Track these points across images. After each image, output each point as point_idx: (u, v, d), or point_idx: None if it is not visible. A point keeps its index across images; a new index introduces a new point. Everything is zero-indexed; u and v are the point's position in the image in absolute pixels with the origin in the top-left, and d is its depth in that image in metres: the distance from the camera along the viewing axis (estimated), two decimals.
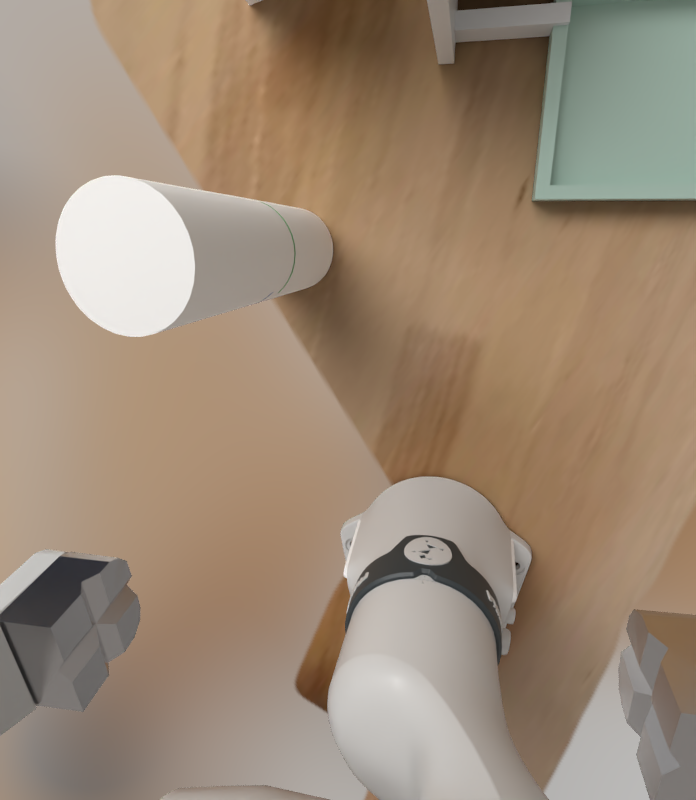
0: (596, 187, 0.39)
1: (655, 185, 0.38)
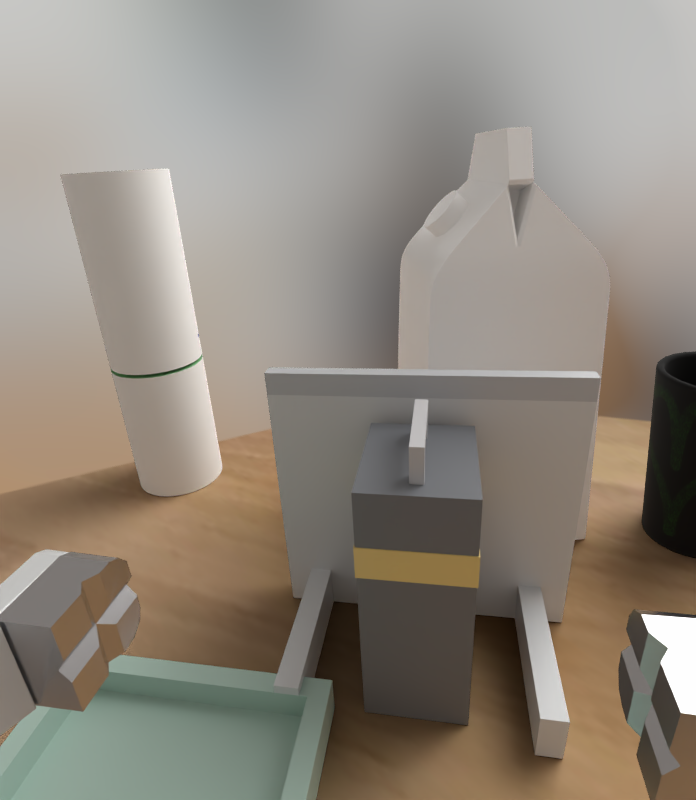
0: (29, 731, 0.24)
1: None
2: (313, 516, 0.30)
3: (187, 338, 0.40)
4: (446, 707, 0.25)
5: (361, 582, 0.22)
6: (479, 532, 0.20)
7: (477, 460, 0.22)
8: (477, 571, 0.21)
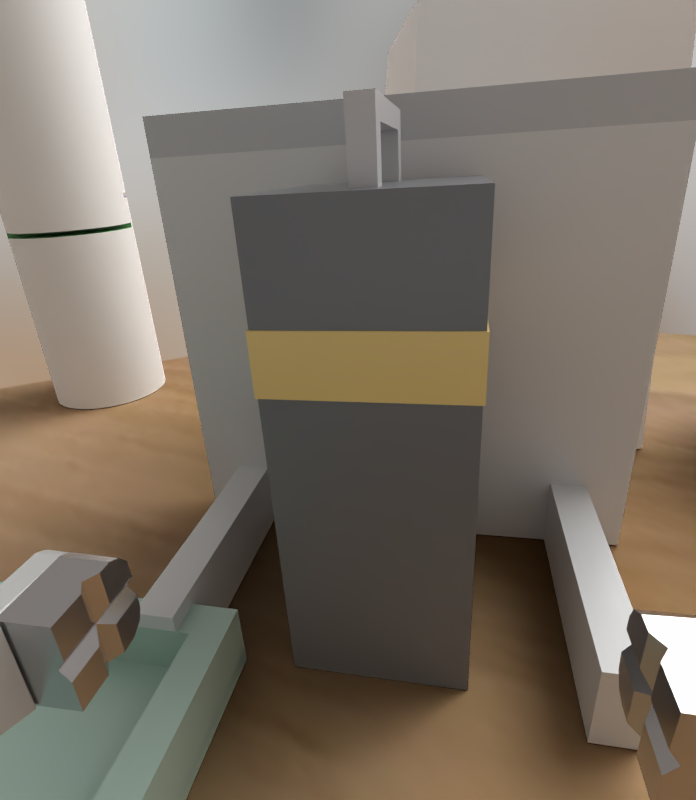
0: None
1: None
2: (237, 376, 0.20)
3: (104, 190, 0.30)
4: (429, 657, 0.14)
5: (267, 409, 0.12)
6: (487, 270, 0.10)
7: (485, 178, 0.12)
8: (483, 366, 0.11)
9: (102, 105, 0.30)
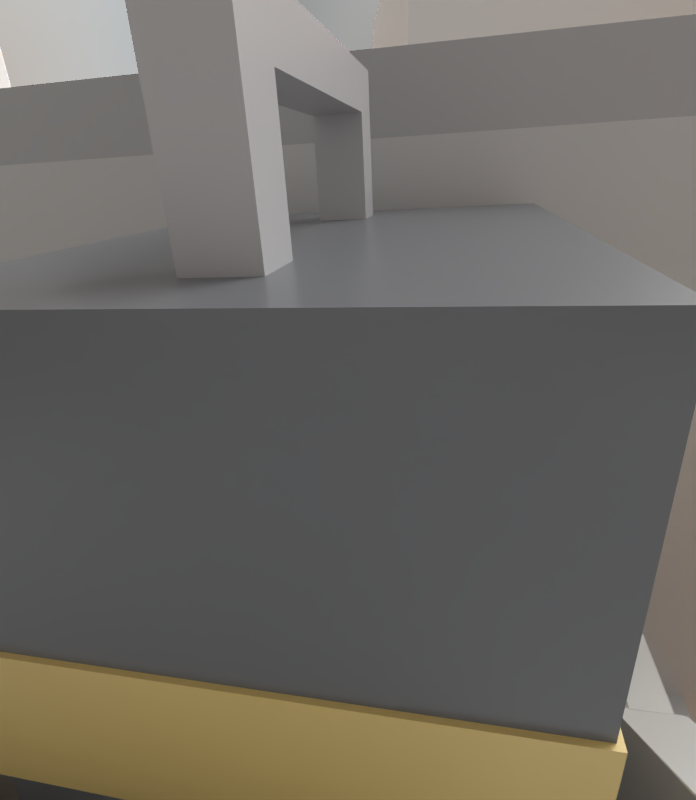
0: None
1: None
2: None
3: None
4: None
5: (31, 791, 0.05)
6: (641, 594, 0.03)
7: (572, 227, 0.05)
8: None
9: None
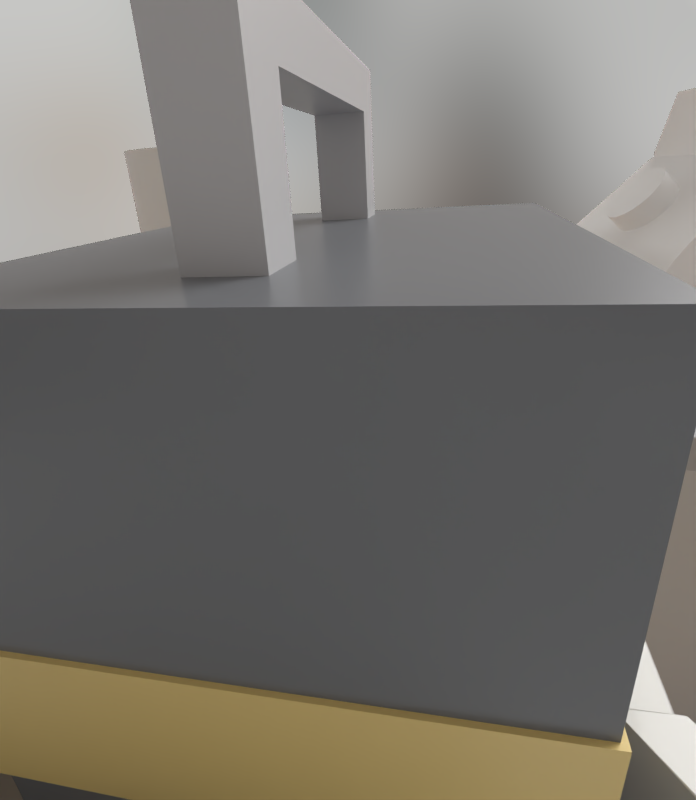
0: None
1: None
2: None
3: None
4: None
5: (34, 790, 0.05)
6: (646, 593, 0.03)
7: (575, 226, 0.05)
8: None
9: None
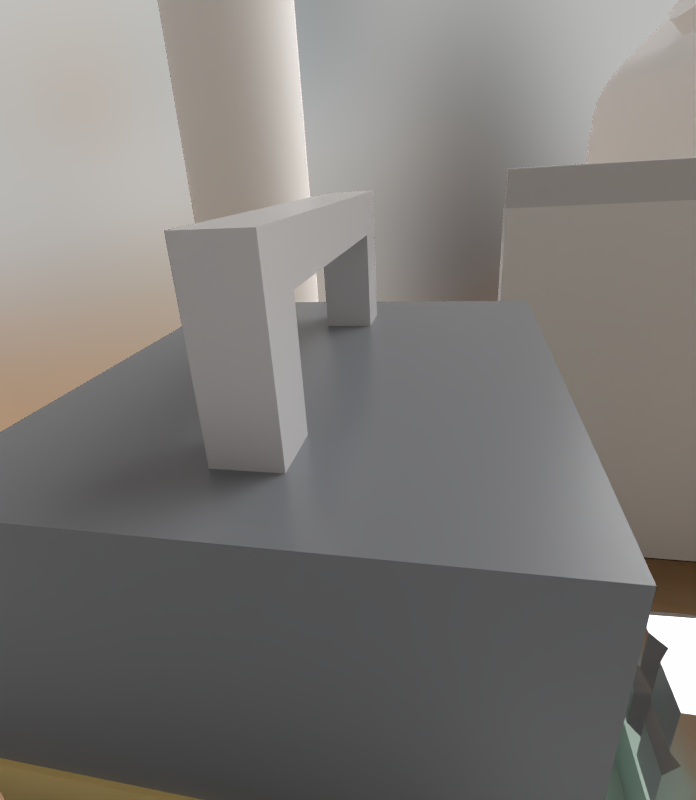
0: None
1: None
2: None
3: None
4: None
5: None
6: (602, 773, 0.03)
7: (557, 376, 0.05)
8: None
9: (304, 135, 0.31)
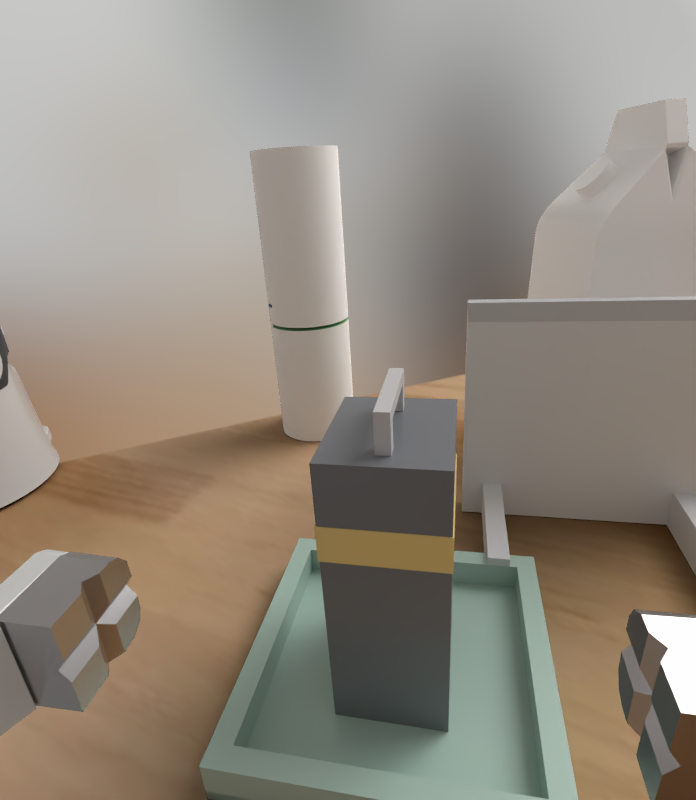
0: (291, 588, 0.29)
1: (269, 649, 0.25)
2: (492, 433, 0.35)
3: (342, 297, 0.46)
4: (423, 711, 0.22)
5: (325, 566, 0.20)
6: (452, 509, 0.18)
7: (454, 432, 0.20)
8: (451, 554, 0.19)
9: (343, 242, 0.45)
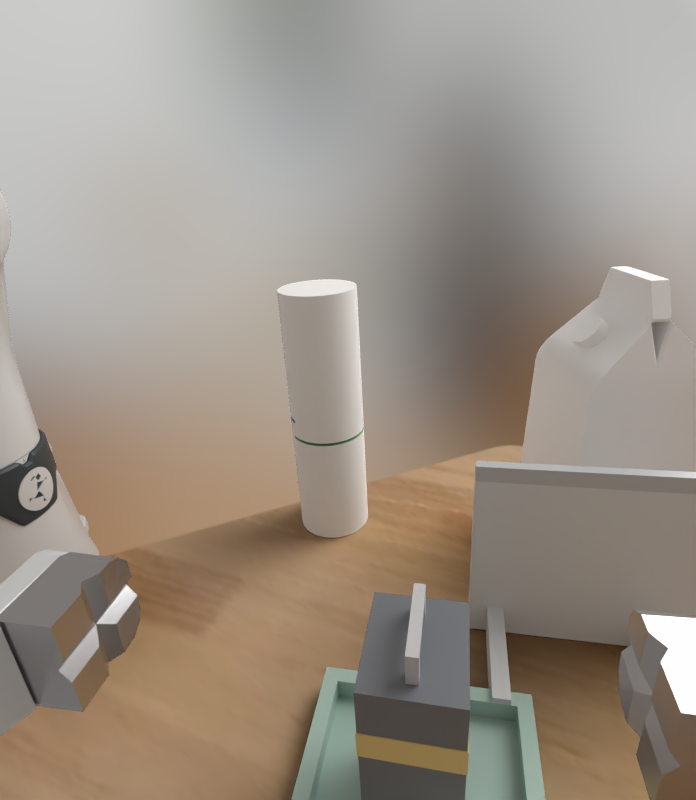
0: (323, 726, 0.33)
1: (308, 794, 0.30)
2: (496, 568, 0.39)
3: (359, 413, 0.50)
4: None
5: (362, 759, 0.25)
6: (467, 733, 0.22)
7: (468, 653, 0.24)
8: (466, 762, 0.23)
9: (360, 364, 0.50)
